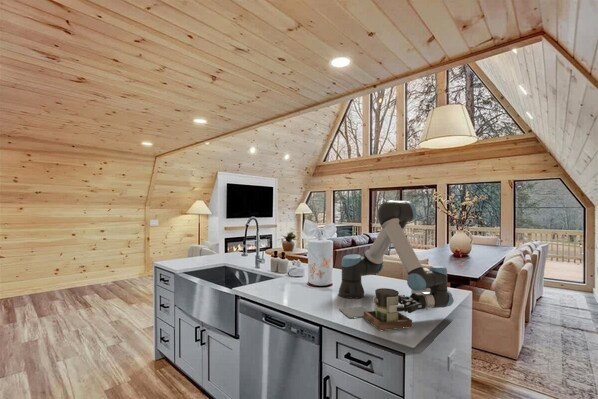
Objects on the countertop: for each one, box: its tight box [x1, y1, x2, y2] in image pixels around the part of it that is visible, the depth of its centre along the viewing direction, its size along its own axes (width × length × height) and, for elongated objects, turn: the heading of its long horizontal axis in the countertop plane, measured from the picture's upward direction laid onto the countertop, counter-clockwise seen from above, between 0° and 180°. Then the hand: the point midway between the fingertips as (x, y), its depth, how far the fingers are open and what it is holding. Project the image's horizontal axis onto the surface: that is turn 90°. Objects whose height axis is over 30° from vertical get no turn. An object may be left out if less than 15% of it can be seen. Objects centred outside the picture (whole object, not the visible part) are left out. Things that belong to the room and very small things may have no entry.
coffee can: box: [374, 287, 400, 322], centre depth 138 cm, size 10×10×14 cm
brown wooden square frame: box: [363, 309, 413, 331], centre depth 138 cm, size 15×15×3 cm
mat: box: [338, 306, 369, 319], centre depth 150 cm, size 13×13×1 cm
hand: (381, 304), depth 137 cm, fingers open, 13 cm apart
